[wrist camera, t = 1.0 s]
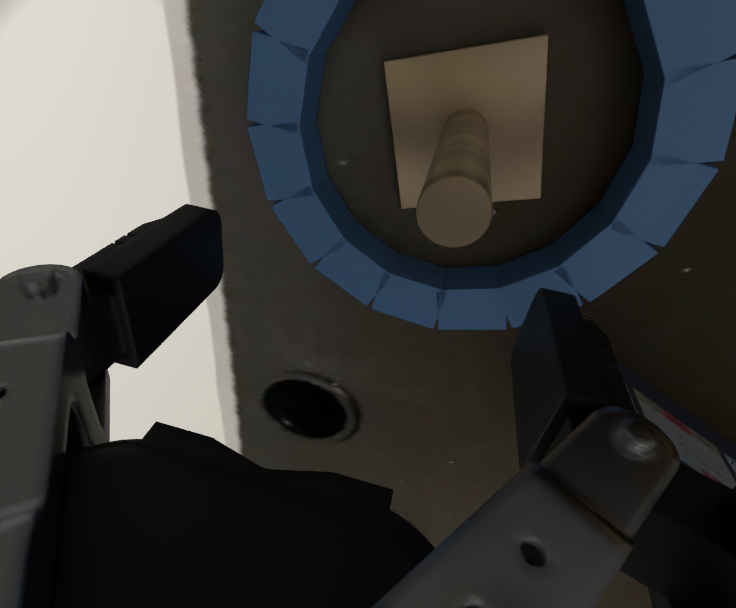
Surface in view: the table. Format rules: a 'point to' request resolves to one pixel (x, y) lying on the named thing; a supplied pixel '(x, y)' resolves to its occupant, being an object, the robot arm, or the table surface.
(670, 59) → the hoop
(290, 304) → the table surface
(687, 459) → the vhs cassette tape
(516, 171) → the dowel stand
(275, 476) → the robot arm
